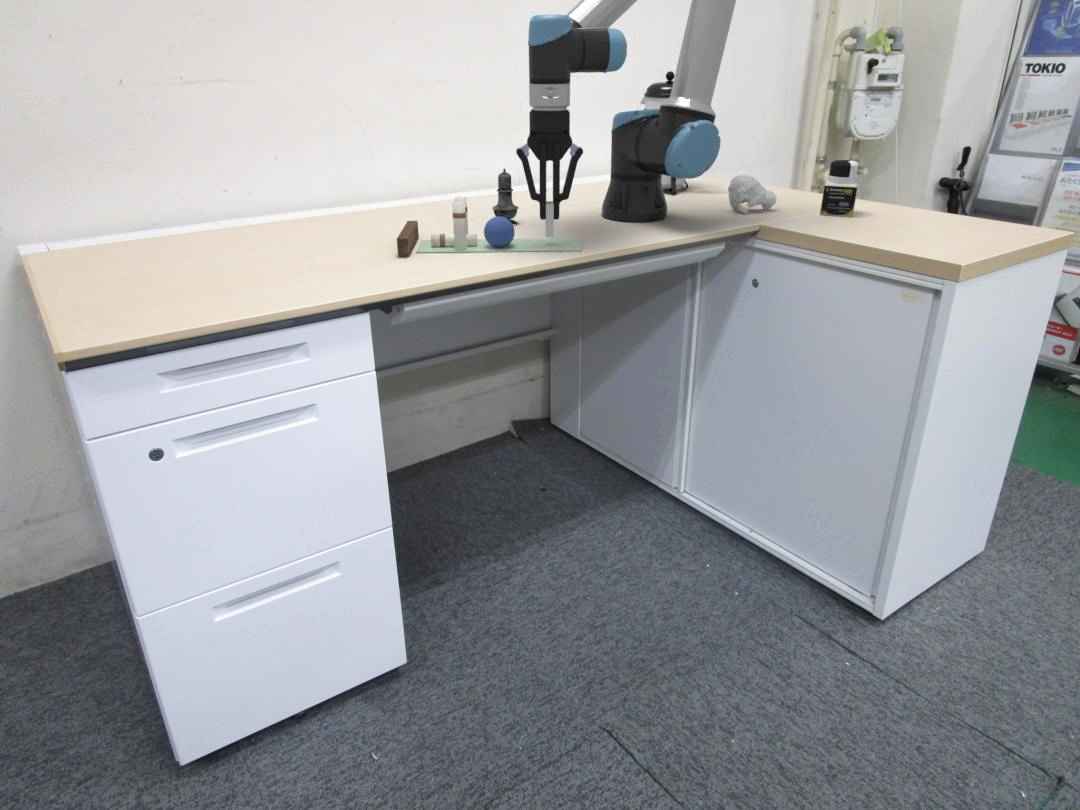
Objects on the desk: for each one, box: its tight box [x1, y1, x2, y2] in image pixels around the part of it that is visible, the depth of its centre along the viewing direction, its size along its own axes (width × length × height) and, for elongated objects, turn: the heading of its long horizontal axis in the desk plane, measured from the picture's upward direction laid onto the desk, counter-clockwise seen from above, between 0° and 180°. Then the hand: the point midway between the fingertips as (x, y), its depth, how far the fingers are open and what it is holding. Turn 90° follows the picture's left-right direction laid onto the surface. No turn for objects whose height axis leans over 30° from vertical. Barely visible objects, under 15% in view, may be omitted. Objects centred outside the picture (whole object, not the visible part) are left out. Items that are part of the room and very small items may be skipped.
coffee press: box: [640, 70, 689, 196], centre depth 199 cm, size 17×16×30 cm
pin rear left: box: [451, 201, 467, 250], centre depth 144 cm, size 2×2×9 cm
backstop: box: [396, 220, 420, 258], centre depth 148 cm, size 2×16×4 cm, turn 2°
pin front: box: [430, 233, 478, 247], centre depth 148 cm, size 2×2×9 cm
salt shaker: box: [491, 168, 519, 226], centre depth 165 cm, size 6×6×12 cm
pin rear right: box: [454, 196, 469, 234], centre depth 149 cm, size 2×2×9 cm
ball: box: [483, 216, 515, 248], centre depth 147 cm, size 6×6×6 cm
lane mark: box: [415, 237, 582, 254], centre depth 149 cm, size 32×10×1 cm, turn 92°
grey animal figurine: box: [727, 174, 777, 215], centre depth 178 cm, size 6×8×12 cm
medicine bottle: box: [819, 159, 860, 218], centre depth 174 cm, size 7×7×12 cm
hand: (549, 235), depth 148 cm, fingers closed
